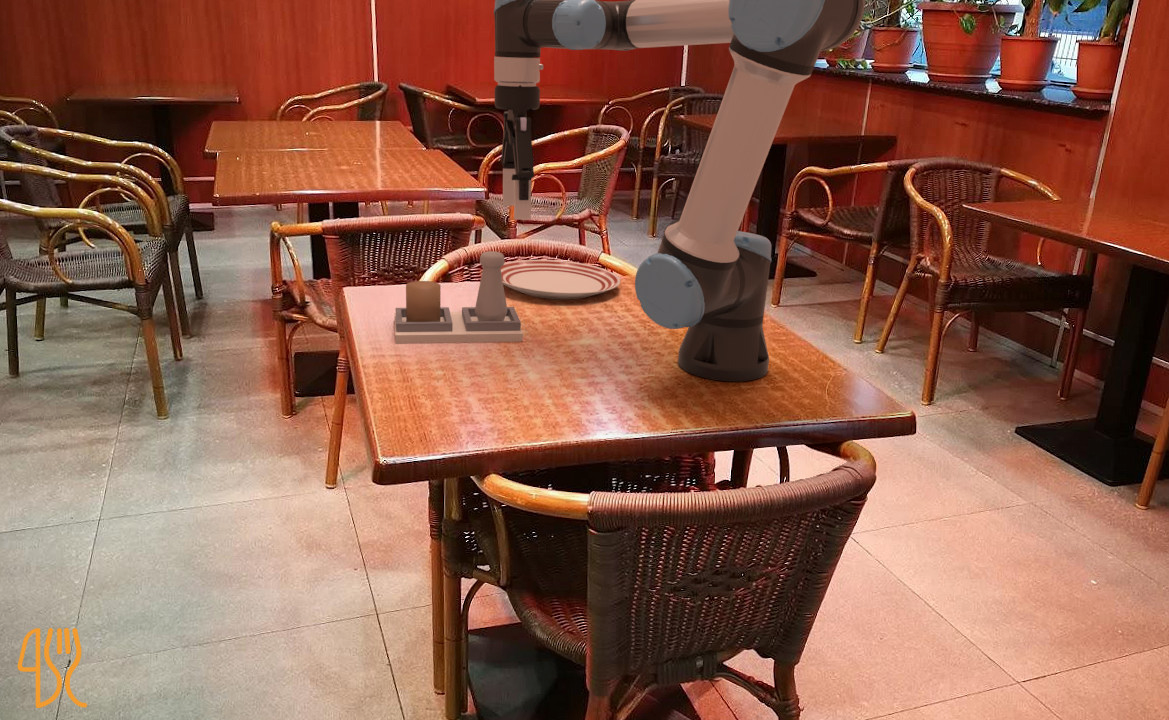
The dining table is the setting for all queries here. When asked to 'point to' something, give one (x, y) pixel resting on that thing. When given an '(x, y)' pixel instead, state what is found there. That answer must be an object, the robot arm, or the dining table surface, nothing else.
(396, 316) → the board
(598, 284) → the dinner plate
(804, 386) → the dining table surface
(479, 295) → the salt shaker
